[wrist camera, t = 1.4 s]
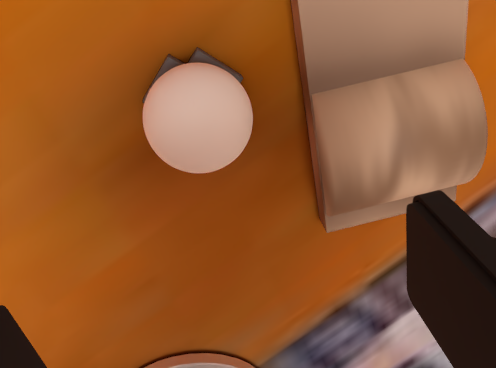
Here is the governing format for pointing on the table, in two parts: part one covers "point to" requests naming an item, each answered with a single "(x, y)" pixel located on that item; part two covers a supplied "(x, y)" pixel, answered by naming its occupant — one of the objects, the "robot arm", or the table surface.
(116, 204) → the table surface
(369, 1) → the lane
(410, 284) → the robot arm
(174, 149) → the ball
